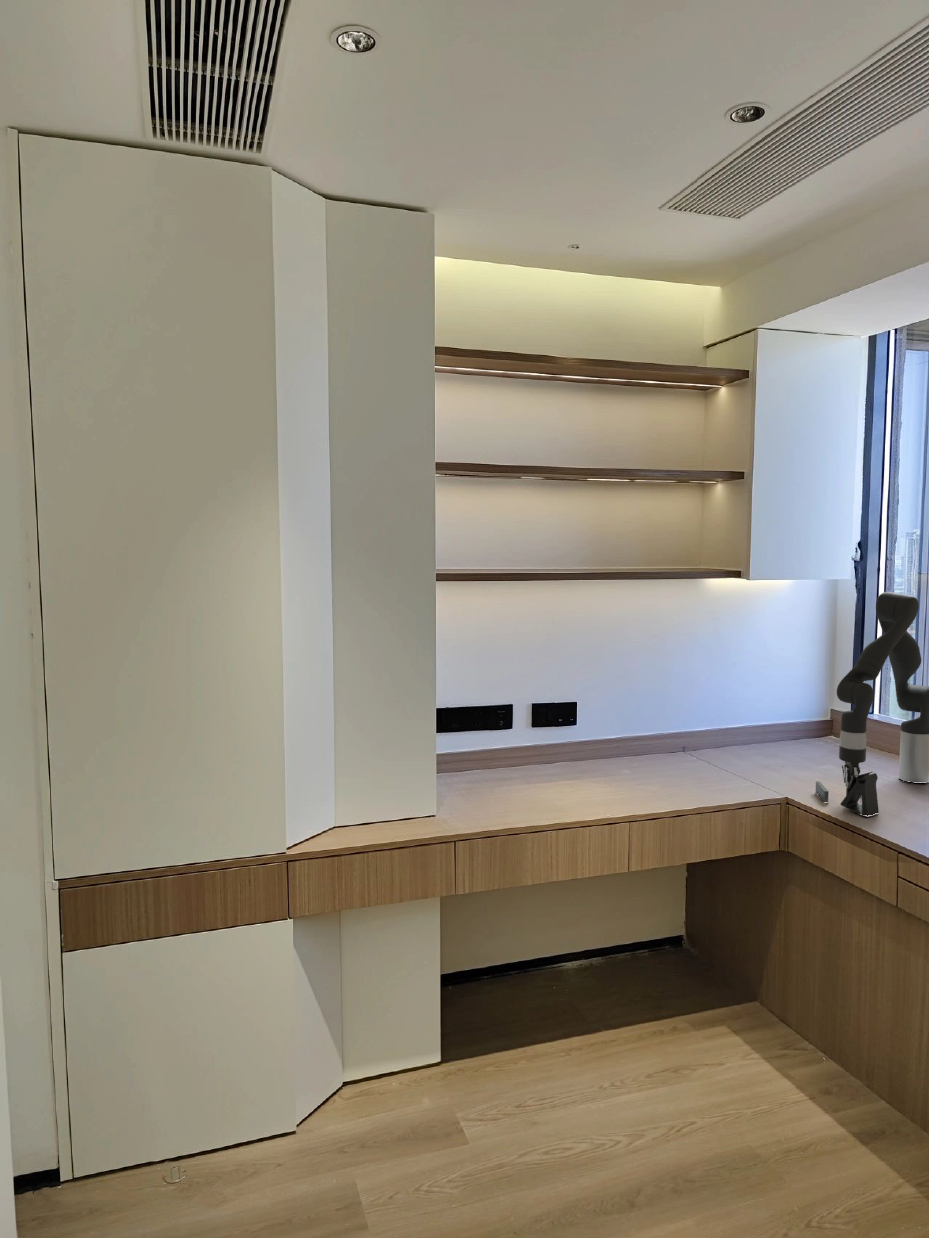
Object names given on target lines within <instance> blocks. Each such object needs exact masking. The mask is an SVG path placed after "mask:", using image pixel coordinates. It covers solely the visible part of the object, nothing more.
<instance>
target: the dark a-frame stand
mask: <svg viewBox="0 0 929 1238" xmlns="http://www.w3.org/2000/svg"><path fill="white" fill-rule="evenodd" d="M878 780H879V779H878V774H877V773H876V772H874V773H873V771H870V772H866V773H863V774H861V773H860V774H859V775H858V776H857V781H856V783H855V785H854V786H853V787H852V789H851V790H850V791H849V793H848V794H847V796H846V795H845V796H844V798H843V799H842V801H841V802H840V806H841V807H843V808H845V809H848V810H849V811H852V812H854V813H855V814H857V813H859V814H862V815H867V816H868V815H873V814H875V813H879V814H880V812H879V802H878V801H879V800H878V792H877V781H878ZM860 799H861V804H860V803H858V802H859V800H860ZM859 814H858V815H859Z"/></svg>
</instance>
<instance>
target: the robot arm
mask: <svg viewBox="0 0 929 1238" xmlns="http://www.w3.org/2000/svg"><path fill="white" fill-rule="evenodd" d="M919 604H920V603H919V600H918V598H917V597H915V596H913V595H910V594H909V595H908V594H903V593H898V592H892V591H884V592H882V593H880V594H879V595H878V596H877V599H876V602H875V613H876V617H877V619H878V622H879V625H880V628H881V630H882V633H883V634H882V635H880V636H878V637H877V638H875V640H873V641H871V642H870V643H869V644H867V645H866V646H865V647H864V649H863V650H862V652H861V653H860V656H859V658H858V660H857V661H856V663H855V665H854V667H853V668H852V669H850V671H848V673H847V674H846V675H845V676H843V678H842V679H841V680H840V681H839V683H838V685H837V688H836V696H837V698H838V700H839V701H841V702H843V703H846V704H852V705H855V706H854V708H853V710H846V711H843V712H842V714H841V722H840V723H841V724H840V725H841V726H840V734H839V749H838V751H839V752H838V759H839V760H840V761H843V762H844V764H843V765H841V768H842V777H843V782H844V784H845V787H846V792H845V797H846V796H847V794H848V793H849V791H850V790H851V789H852V787H853V786H854V785H855V783H856V781H857V776H858V775H861V767H860V764H861V763H862V764H863V763H865V762H866V758H867V743H868V742H867V738H868V737H867V720H868V717H869V713H870V710H871V708H872V704H873V702H874V700H875V699H874V698H875V692H874V687H872V686H871V685H870V684H869V683H865V682H867V681H874V680H876V679H877V678H878V676H879V675H880V672H881V670H882V669H883V666H884V665H885V664H886V661H887V659H889V662H890V667H891V669H892V674H893V678H894V686H895V696H896V697H895V698H896V702H897V705H898V708H899V709H900V710H902V711H906V712H911V713H912V712H913V713H919V717H916V718H913V719H909V720H905V721H902V722H901V724H900V742H899V744H900V745H899V762H898V764H899V765H898V779H899V778H900V779H902V780H903V781H902V782H904V781H910V782H927V781H929V686H927V685H918V684H910V683H908V681H909V680H910V679H911V677H912V676H913V675H914V674H915V673H916V672H917V671H918V669H919V668H920V667H921V664H922V655H921V651H920V646H919V644H918V641H916V639H915V638H914V637H913V636H912V634H910V632H909V631H908V629H909V628H910V627H911V625H912V624H913V622H914V621H915V619H916V617H917V615H918V612H919V609H920V608H919V607H920V605H919Z"/></svg>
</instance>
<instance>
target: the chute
mask: <svg viewBox="0 0 929 1238" xmlns="http://www.w3.org/2000/svg"><path fill="white" fill-rule="evenodd" d="M816 793H817V794H818V796H819V797H820V798H821V799H822V800H823V802H828V803H829V790H828V789H827V788H826V786H824V785H823V783H822V782H821V781H820V780H819V781H818V780H817V781H816V780H815V794H816ZM817 794H816V795H817ZM818 796H817V797H818ZM819 797H818V798H819ZM820 798H819V799H820ZM821 799H820V800H821ZM822 800H821V801H822ZM823 802H822V803H823Z"/></svg>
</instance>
